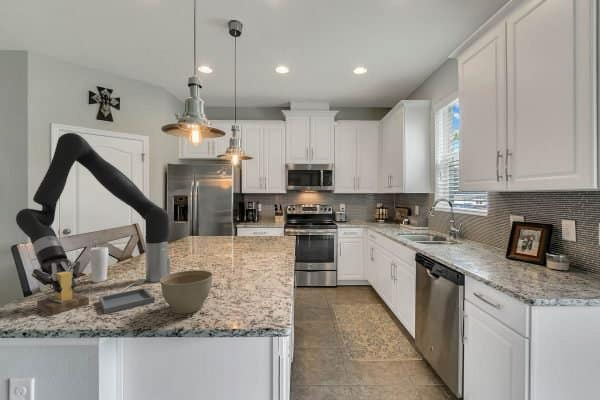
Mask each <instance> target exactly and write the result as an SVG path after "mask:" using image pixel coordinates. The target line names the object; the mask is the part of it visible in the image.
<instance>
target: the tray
mask: <svg viewBox="0 0 600 400" xmlns="http://www.w3.org/2000/svg"><path fill="white" fill-rule="evenodd" d="M155 300H156V299H155V296H154V295H153V294H152V293H151V292H149V290H147V288H146V287H144V288H143V287H142V288H141V287H140V288H138V289H132V290H127V291H126V290H125V291H123V292H121V293H117V292H116V294H115V293H112V294H106V295H102V296H99V297H98V302H99V304H100V305H99V306H101V309H102V311H103V314H104V315H108V314H113V313H115V312H121V311H124V310H129V309H134V308H136V307H141V306H146V305H150V304H154V303H156V301H155Z"/></svg>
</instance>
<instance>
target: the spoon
mask: <svg viewBox="0 0 600 400" xmlns="http://www.w3.org/2000/svg"><path fill="white" fill-rule="evenodd" d="M145 281H146V279H144V278H142V279H138V280H137V281H135V282H133V283H130V284H129V285H128V286H126V287H124V288H122V289H121V290H119V291H117V292H116V293H121V292H125V291H126V290H127V289H128V288H130V287H131V286H133V285H134V286H139V285H143V284H144V283H146V282H145ZM116 293H114V294H116Z"/></svg>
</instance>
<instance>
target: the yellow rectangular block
mask: <svg viewBox="0 0 600 400" xmlns="http://www.w3.org/2000/svg"><path fill="white" fill-rule="evenodd" d="M72 274H73V272H71V271H70V272H65V271H64V272H59V273H57V274H56V276H57V281H59V283H60V286H61V287H62V291H61V292H60V293H57V292H55V291H54V297H55V299H57V300H60V301H62V302H63V301H67V300H70V299H72V292H73V290H72Z"/></svg>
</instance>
